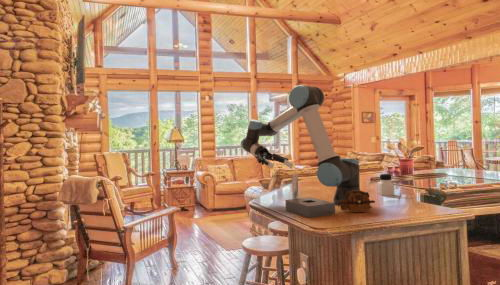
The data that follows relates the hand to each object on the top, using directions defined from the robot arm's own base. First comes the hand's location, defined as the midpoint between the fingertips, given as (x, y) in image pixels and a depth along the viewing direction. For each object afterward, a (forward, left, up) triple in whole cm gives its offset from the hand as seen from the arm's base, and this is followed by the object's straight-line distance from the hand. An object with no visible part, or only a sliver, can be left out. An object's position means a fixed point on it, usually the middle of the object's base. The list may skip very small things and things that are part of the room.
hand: (282, 166), depth 198 cm
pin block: (-17, +19, -20) cm, 32 cm away
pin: (-7, +5, -20) cm, 22 cm away
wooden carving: (-38, +15, -20) cm, 46 cm away
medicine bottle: (-50, -38, -20) cm, 66 cm away
